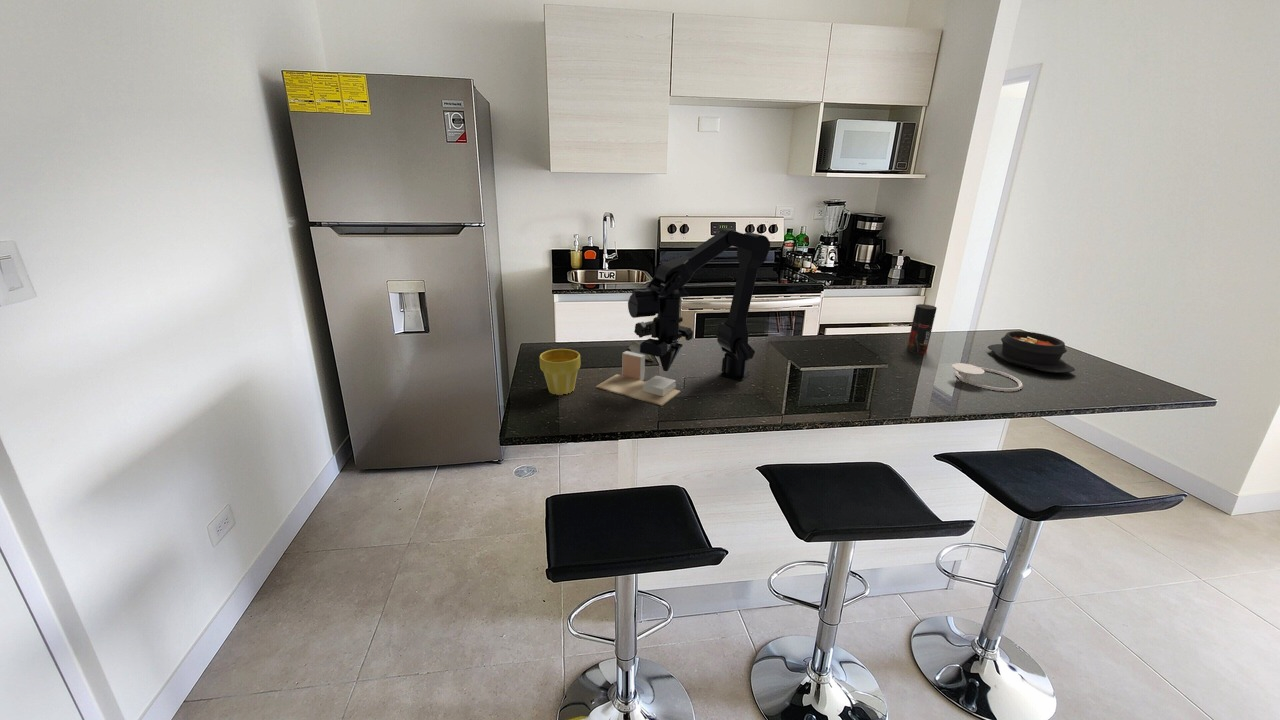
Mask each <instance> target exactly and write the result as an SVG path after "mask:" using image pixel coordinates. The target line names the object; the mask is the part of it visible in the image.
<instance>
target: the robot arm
mask: <svg viewBox="0 0 1280 720" xmlns="http://www.w3.org/2000/svg"><path fill="white" fill-rule="evenodd" d="M731 247H734V248H737V249H736V256H737V260H738V261H737V262H738V264H739V265H738V266H739V267H738V272H737V276H736V281H735V284H734V289H733V290H734V291H733V294H732V298H731V299H732V300H731V303H730V309H729V313H728V317H727V319H726V320H725V321H724V322H719V323H718V327H717V333H716V334H715V337H717V343H718V345H719V346H720V349H721V351H722V352H724V357H723V358H722V359H721V360H722V361H721V362H722V363H721V373H720V376H721V377H724V378H729V379H733V380H738V381H743V380H744V379H746V377H748V376H749V375H750V371H749V361H750V360H752V359H753V358H754V356H755V353H756V351H755V350H754V349H753V347H752V346H751V345H750V344H749V329H748V325H747V319H748V314H749V311H750V305H751V301H752V297H753V292H754V288H755V284H756V279H757V275H758V271H759V269H760V268H761V267H762V265H763V264H764V263H765V262H766V260H767V257H768V255H769V252H770V250H771V241H770V240H769V238H768V237H767V236H765V235H762V234H758V233H754V232H750V231H749V232H745V233H742V232H740V231H737V230H735V229H732V228H727V227H725V228H722V229H720V230H719V231H718V232H717V233H716V234H714V235H713V236H711V237H710V238H708V239H707V240H706V241H704V242H702V243H701V244H700V245H698V246H697V247H695V248H694V249H692V250H691V251H690V252H688V253H686V254H685V255H683V256H680V257H676V258H672V259H670V260H668V261H665V262H663V263H661V264H659V265H658V267H657V268H656V272H655V274H654V276H653V277H652V279H651V280H650V281H649V283H648V285H647V286H646V289H637V288H636V289H632V290H631V295H630V296H629V297H628V298H629V299H628V301H627V307H628V308H627V311H628V313H629V315H630V317H631V318H633V319H635V318H645V317H654V316H655V317H654V318H652V320H650V321H646V322H644V321H641V322H640V321H639V322H636V323H635V326H634V331H633V332H634V333H635V335H636V336H638V338H640V339H641V338H643V337H647V336H651V338H648V339H646V340H644V341H642V342H641V343H640V351H639V352H640V353H644V354H648V355H651V356H653V357H657V358H658V357H659V360H660V364H661V367H662V371H663V372H668V371H669V370H670V368H671V367H672V365H673V362H674V360H675V359H676V357H677V355H678V354H679V352H680V351H681V349H682V347H683V346H684V344H682V343H679V341H678V340H679V339H681V338H682V337H684V338H685V340H686V341H687V342H688V341H690V340H692V339H693V336H694V331H693V330H692V329H691V327H689V326H688V327H686V326H682V325H680V324H681V323H683V320H684V319H683V317H681V304H682V303H681V302H682V298H685V297H689V296H690V294H689V292H687V291H686V290H685V288H684V286H685V285H686V284H687V283H688V282H689V281H691V279H692V277H693V276H694V273H695V272H696V271H697V270H698V269H699V270H700V268H701V267H704V266H705V265H706V264H708V263H709V262H711V261H712V260H714V259H715V258H717V257H718V256H720V254H722V253H723V252H725V251H726V250H728V249H729V248H731ZM662 286H663V287H662ZM656 315H657V316H656Z"/></svg>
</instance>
